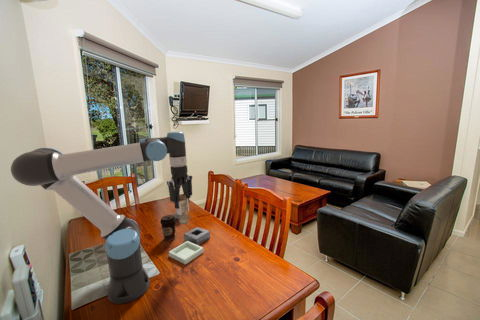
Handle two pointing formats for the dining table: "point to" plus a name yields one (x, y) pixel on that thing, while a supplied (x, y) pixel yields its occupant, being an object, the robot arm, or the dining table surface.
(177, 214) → the figurine
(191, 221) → the dining table surface
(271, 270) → the dining table surface
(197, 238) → the socket block
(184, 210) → the pin
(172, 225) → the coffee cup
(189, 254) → the tray
